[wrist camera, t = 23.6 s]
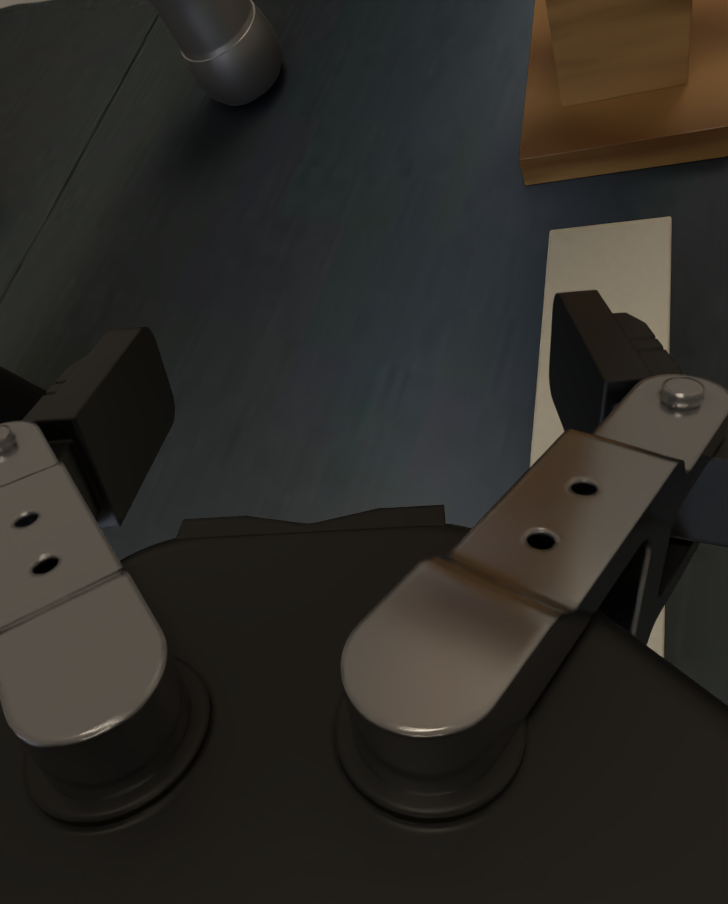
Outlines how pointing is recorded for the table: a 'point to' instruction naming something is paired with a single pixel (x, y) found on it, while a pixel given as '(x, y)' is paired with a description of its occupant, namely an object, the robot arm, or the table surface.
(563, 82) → the plant stand
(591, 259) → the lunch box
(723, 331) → the table surface
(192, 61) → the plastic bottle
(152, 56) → the table surface
